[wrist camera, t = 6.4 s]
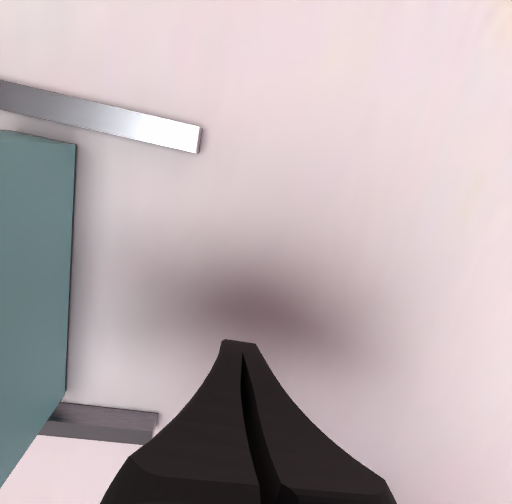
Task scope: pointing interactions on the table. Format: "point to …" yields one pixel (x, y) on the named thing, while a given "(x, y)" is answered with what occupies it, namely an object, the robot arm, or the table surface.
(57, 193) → the block
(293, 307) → the table surface
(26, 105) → the vise
